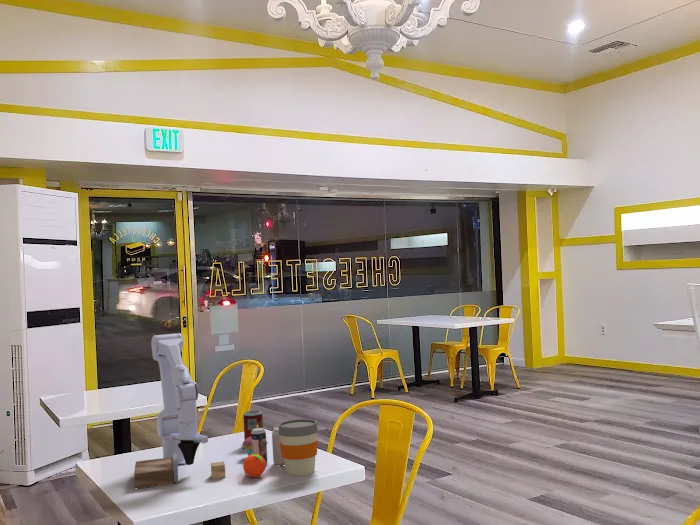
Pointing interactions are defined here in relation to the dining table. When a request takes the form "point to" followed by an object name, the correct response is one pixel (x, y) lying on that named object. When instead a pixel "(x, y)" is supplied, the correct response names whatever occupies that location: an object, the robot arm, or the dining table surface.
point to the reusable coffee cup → (299, 445)
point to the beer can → (259, 442)
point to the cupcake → (248, 445)
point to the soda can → (252, 422)
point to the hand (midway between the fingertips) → (189, 464)
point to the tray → (175, 468)
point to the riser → (218, 470)
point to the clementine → (254, 465)
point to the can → (277, 448)
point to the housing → (153, 472)
